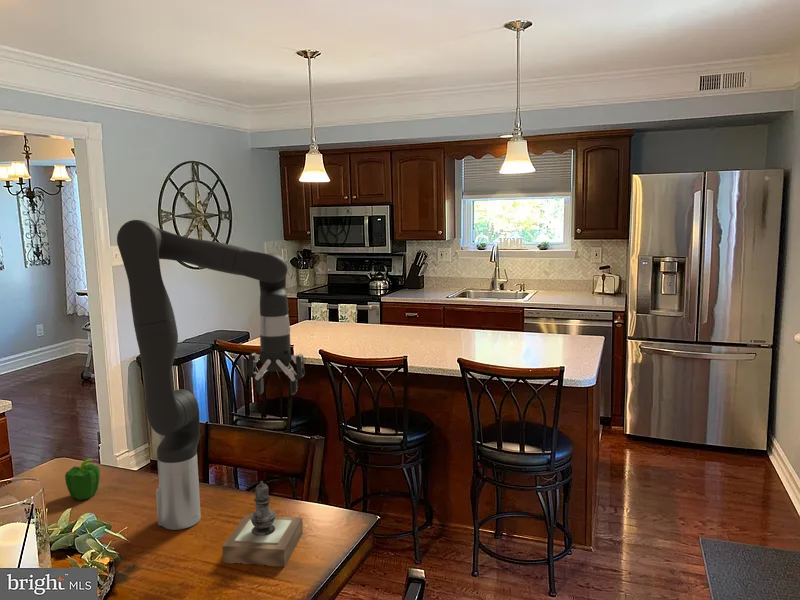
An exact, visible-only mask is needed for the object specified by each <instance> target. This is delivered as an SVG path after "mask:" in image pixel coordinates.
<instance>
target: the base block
mask: <svg viewBox="0 0 800 600" xmlns="http://www.w3.org/2000/svg"><path fill="white" fill-rule="evenodd" d="M250 515H251V514H245V515H244V517H243V518H242V520H240V522H238V523H239V524H238V525H237V526H236V528H235V529H234V530H233V531H232V533H231V534H230V535H229V537H228V538H227V539H226V540H225V542H224V543H223V545H222V560H223V561H222V563H223V564H234V563H238V564H237V565H240V564H239V563H242V564H241V565H249V564H257V565H256V566H264V565H267V566H266V567H278V568H279V567H280V568H285V567H286V565H287V563H288V562H289V560H290V558H291V556H292V554H293V552H294V551H295V548H296V547H297V545H298V543H299V541H300V539H301V537H302V535H303V531H304V530H303V517H295V516H293V517H292V516H291V517H290V516H278V515H276V516H275V519H274V522H273V524H272V525H273V526H274V527H275V531H274V532H273V533H271V534H269V535H266V536H256V535H254V534H253V533H252V529H253V528H254V527H255V526H254V525H253V524H252V522H251V520H250Z"/></svg>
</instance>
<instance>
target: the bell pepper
mask: <svg viewBox="0 0 800 600" xmlns="http://www.w3.org/2000/svg"><path fill="white" fill-rule="evenodd" d="M92 462H93V459H92V458H88V459H86V460H84V461H83V462H81V465H80V466H73V467H72V468H70V469H69V470H68V471H66V472H65V475H64V480H65V486H66V488H67V490H68V493H69V495H70V497H71V498H72V499H76V500H79V501H83V500H88V499H91V498H92V497H93V496H94V495H95V494H96V493H97V492H98V490H99V485H100V478H101V470H100V467H99V466H98V465H94V464H93V463H92Z"/></svg>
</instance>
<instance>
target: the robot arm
mask: <svg viewBox="0 0 800 600" xmlns="http://www.w3.org/2000/svg"><path fill="white" fill-rule="evenodd" d="M116 235H117V236H116V243H117V248H118V250H119V253H120V257H121V259H122V263H123V267H124V270H125V272H126V278H127V280H128V287H129V288H128V289H129V298H130V307H131V313H132V314H131V315H132V321H133V327H134V331H135V337H136V343H137V346H138V351H139V357H140V363H141V369H142V376H143V377H142V378H143V383H144V394H145V395H144V397H145V410H146V415H147V416H146V417H147V421H148V422H149V425H150V427H151V429H152V430H153V431H154V432H155V433H157V434H158V435H160V436H164V437H163V439H162V440H161V441H160V442H159V444H158V446H157V449H156V456H157V457H156V458H157V473H158V487H157V488H156V489H155V496H156V511H157V524H158V526H161V527H163V528H165V529H166V530H170V531H172V530H174V531H175V530H184V529H188V528H190V527H192V526H195V525H196V524H198V523H199V522H200V521H201V518H202V517H201V516H202V515H201V500H200V498H201V497H200V483H199V465H198V451H197V450H198V446H199V442H200V438H201V437H200V435H201V434H200V432H201V430H200V429H201V426H200V421H201V420H200V417H201V416H200V408H199V407H200V406H199V403H198V400H197V398H196V397H195V395H194V394H193V393H192V392H191V391H190V390H187V389H184V388H182V389H181V388H179V389H176V390H174V387H173V380H172V372H173V366H174V361H175V357H176V353H177V348H178V342H179V335H178V327H177V321H176V317H175V312H174V309H173V306H172V302H171V300H170V297H169V295H168V291H167V288H166V287H165V284H164V281H163V277H162V271H161V265H160V264H161V262H160V260H168V261H176V262H182V263H185V264H191V265H194V266H197V267H200V268H203V269H208V270H212V271H216V272H220V273H226V274H230V275H235V276H243V277H248V278H250V279H253V280H256V281H258V282H259V283H258V284H259V290H260V294H259V314H260V315H259V341H260V343H259V344H260V347H259V348H260V354H258V353H256V352H252V353H251V354H249V355H248V367H247V368H248V370H247V371H248V374H247V375H248V377H249V378H252V379H255V387H256V388H255V389H256V392H257V393H258V394H259V395H262V394H263V393H264V391H265V388H264V387H265V385H264V378H263V377H264V375H265V374H266V372H268V371H269V372H278V373H281V372H283V373H284V374H285V375H286V376H287V377H288V378H289V379H290V381H289V388H290V391H289V392H290V396H294V395H295V394H296V393H297V391H298V388H299V386H298V380H301V379H302V378H303V377H304V376H305V373H306V371H305V363H304V362H305V361H304V355H303V354H302V353H299V354H297V355H296V354H295V355H293V354H292V352H291V326H290V317H289V301H288V300H289V299H288V295H287V289H286V288H287V274H288V264H287V262H286V261H285V259H284V258H283V257H282V256H281V255H280V254H278V253H273V252H272V253H265V252H261V251H260V252H259V251H254V250H249V249H247V248H245V247H243V246H237V245H233V244H229V243H225V242H224V243H223V242H219V241H213V240H208V239H207V240H205V239H198V238H192V237H187V236H183V235H180V234H176V233H172V232H169V231H167V230H165V229H161V228H159V227H156V226H155V225H154V224H152V223H150V222H148V221H145V220H142V219H131V220H129V221H127V222H125V223H124V224H123V225H121V226H120V229H118V232H117V234H116ZM259 361H260V362H261V364H262V366H261V368H259V370H258V372H257V363H258V362H259ZM292 361H293V363H294V364H295V365H296V371H295V370H294V367H293V366H292V365H291V362H292Z"/></svg>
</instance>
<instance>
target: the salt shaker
mask: <svg viewBox="0 0 800 600" xmlns="http://www.w3.org/2000/svg"><path fill="white" fill-rule="evenodd" d="M255 486H256V487H254V488H255V498H254V500H253V502H254V503H255V511H253V512H252V513H251V514H249V515H250V520H251V522H252V524H253V525H254V526H255V527H254V528H253V529H252V533H253V534H254V535H256V536H266V535H269V534H271V533H273V532H274V531H275V527H274V526H273V525H272V524H273V522H274V519H275V516H277V513H276V511H274V510H273V509H271V508H270V502H271V497H269V486H268V485H267V484H265V483H264V481H263V480H260V482H259V483H258V484H257V485H255Z"/></svg>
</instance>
